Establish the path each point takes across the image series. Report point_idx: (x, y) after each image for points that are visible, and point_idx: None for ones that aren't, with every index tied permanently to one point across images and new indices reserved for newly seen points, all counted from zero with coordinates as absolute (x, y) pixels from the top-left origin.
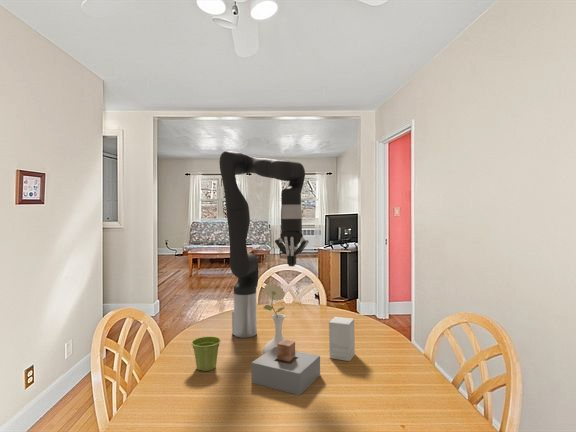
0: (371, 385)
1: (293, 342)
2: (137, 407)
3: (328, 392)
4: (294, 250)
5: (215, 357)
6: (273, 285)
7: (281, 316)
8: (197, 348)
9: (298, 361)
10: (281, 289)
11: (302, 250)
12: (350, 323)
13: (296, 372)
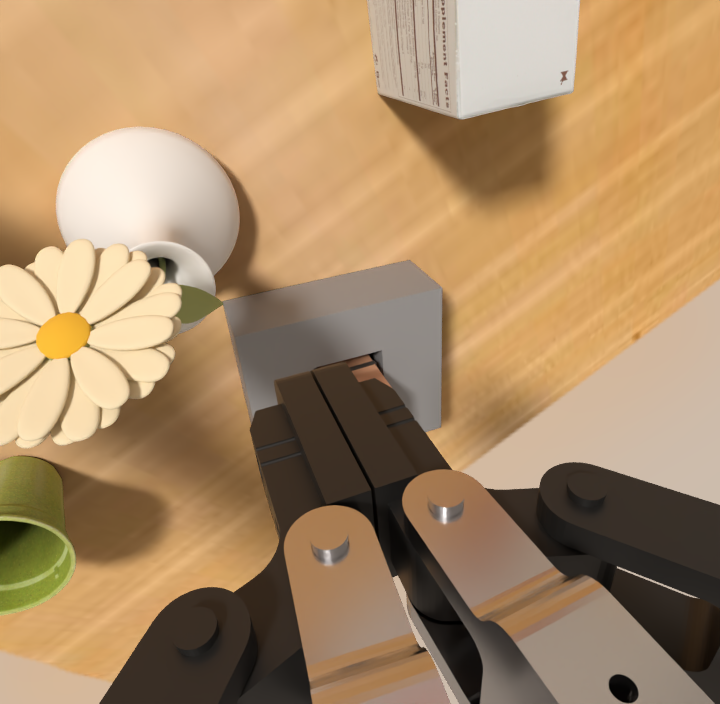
0: (566, 217)
1: None
2: (123, 659)
3: (471, 330)
4: (485, 592)
5: (59, 500)
6: (104, 420)
7: (160, 254)
8: (28, 594)
9: (398, 374)
10: (159, 334)
11: (691, 510)
12: (574, 59)
13: (429, 428)
